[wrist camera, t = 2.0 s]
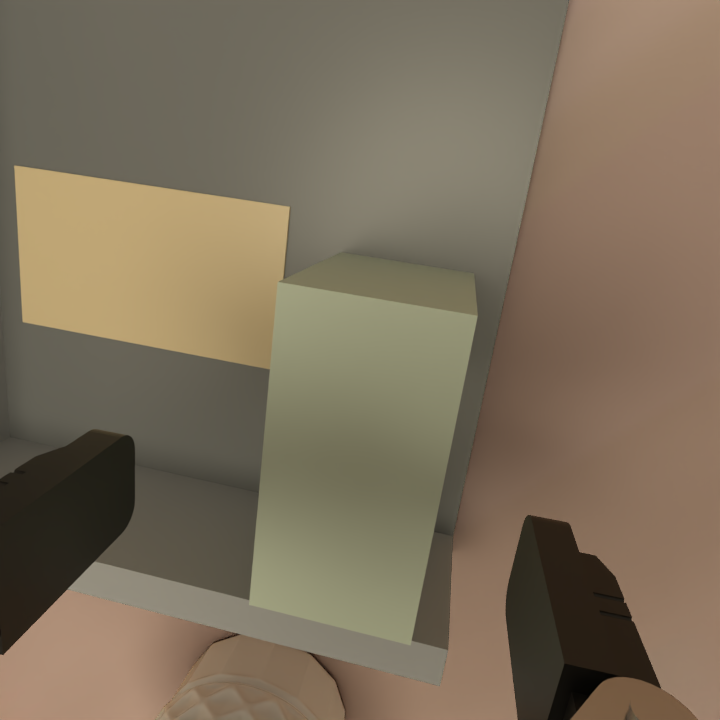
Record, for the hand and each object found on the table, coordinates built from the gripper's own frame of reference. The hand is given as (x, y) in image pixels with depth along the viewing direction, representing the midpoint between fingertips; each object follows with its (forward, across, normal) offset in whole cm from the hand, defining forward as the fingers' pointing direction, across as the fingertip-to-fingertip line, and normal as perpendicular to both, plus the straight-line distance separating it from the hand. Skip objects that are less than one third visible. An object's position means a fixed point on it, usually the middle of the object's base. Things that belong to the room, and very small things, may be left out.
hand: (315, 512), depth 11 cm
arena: (+8, +5, -3) cm, 10 cm away
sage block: (+7, -1, 0) cm, 7 cm away
